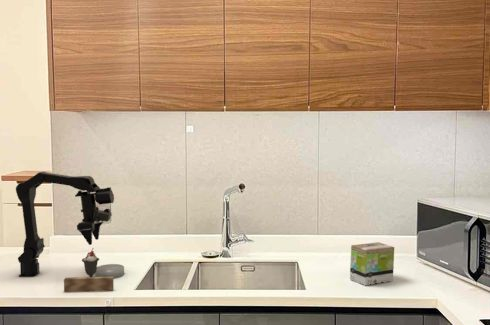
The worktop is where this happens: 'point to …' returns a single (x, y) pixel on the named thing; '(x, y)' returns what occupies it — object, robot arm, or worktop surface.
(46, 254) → the worktop surface
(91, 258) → the sundae
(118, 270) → the slate plinth
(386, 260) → the tea box
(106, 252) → the worktop surface
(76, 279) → the brown wooden plank
